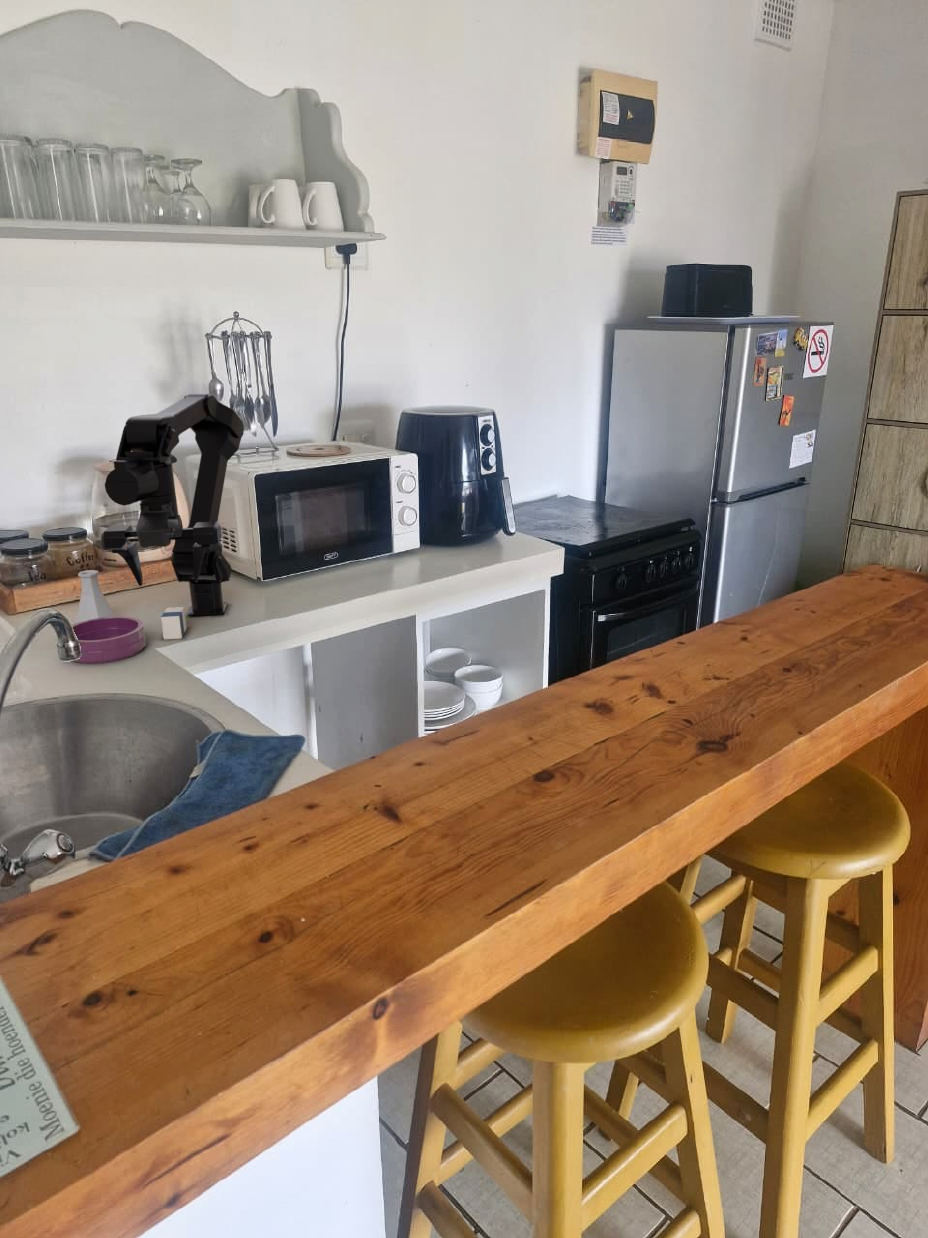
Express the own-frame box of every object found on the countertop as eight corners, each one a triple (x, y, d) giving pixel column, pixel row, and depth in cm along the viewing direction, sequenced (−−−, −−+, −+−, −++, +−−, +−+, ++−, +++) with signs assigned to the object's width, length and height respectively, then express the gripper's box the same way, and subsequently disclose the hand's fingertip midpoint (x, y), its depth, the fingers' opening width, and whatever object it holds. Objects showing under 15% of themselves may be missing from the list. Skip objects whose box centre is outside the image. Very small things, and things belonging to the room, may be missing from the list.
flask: (102, 633, 153) (94, 578, 150) (66, 631, 154) (57, 576, 151) (125, 620, 160) (118, 567, 156) (90, 617, 161) (82, 566, 158)
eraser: (169, 629, 155) (166, 607, 153) (187, 628, 155) (184, 606, 154) (163, 639, 149) (160, 617, 148) (182, 638, 150) (179, 616, 148)
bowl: (76, 640, 150) (73, 618, 148) (153, 636, 151) (150, 614, 150) (54, 667, 138) (50, 644, 137) (138, 662, 139) (134, 639, 138)
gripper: (85, 505, 136) (100, 600, 140) (208, 500, 138) (218, 594, 143) (103, 492, 146) (116, 581, 151) (217, 488, 148) (226, 576, 153)
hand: (168, 583), depth 149 cm, fingers open, 9 cm apart
